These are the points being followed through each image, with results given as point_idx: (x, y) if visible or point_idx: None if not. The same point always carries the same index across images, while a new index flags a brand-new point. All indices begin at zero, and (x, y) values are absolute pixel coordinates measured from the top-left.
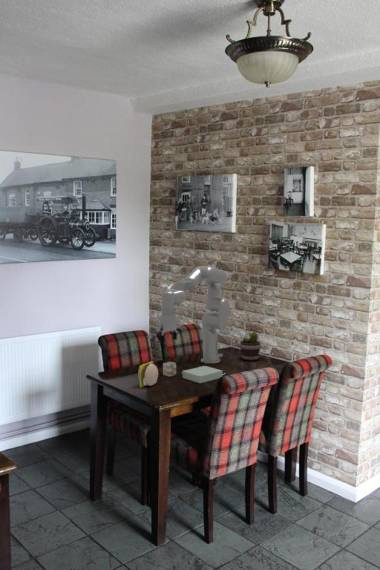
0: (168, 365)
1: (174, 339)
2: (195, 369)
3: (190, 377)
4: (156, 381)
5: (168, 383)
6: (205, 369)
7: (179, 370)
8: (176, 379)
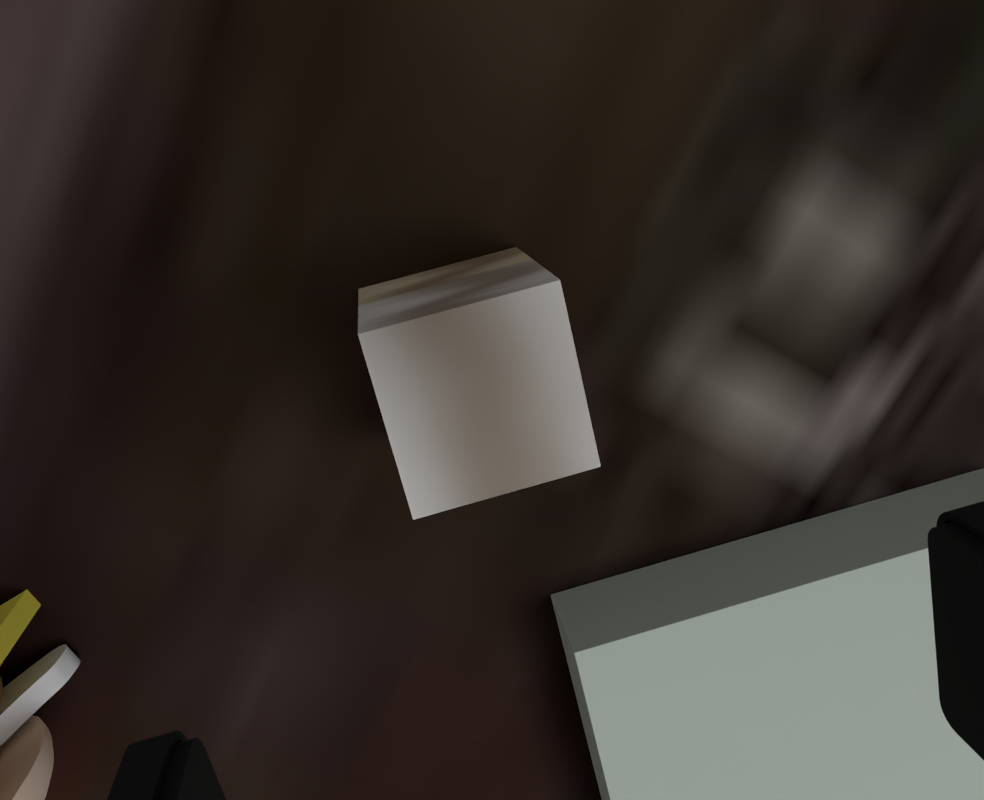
0: (408, 499)
1: (936, 645)
2: (806, 642)
3: (596, 765)
4: (72, 669)
5: (239, 751)
6: (928, 700)
7: (733, 178)
8: (434, 624)
